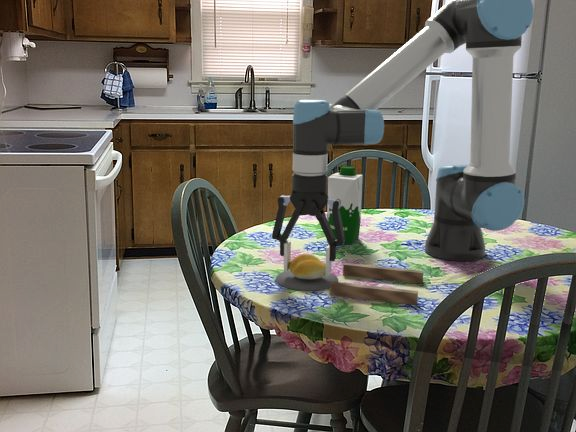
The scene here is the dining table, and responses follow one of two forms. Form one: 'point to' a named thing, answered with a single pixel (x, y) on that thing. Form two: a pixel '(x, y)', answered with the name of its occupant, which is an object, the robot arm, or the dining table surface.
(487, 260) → the dining table surface
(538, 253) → the dining table surface
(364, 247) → the dining table surface
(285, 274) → the mat
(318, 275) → the bread roll
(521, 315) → the dining table surface
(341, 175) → the milk carton
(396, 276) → the chute
